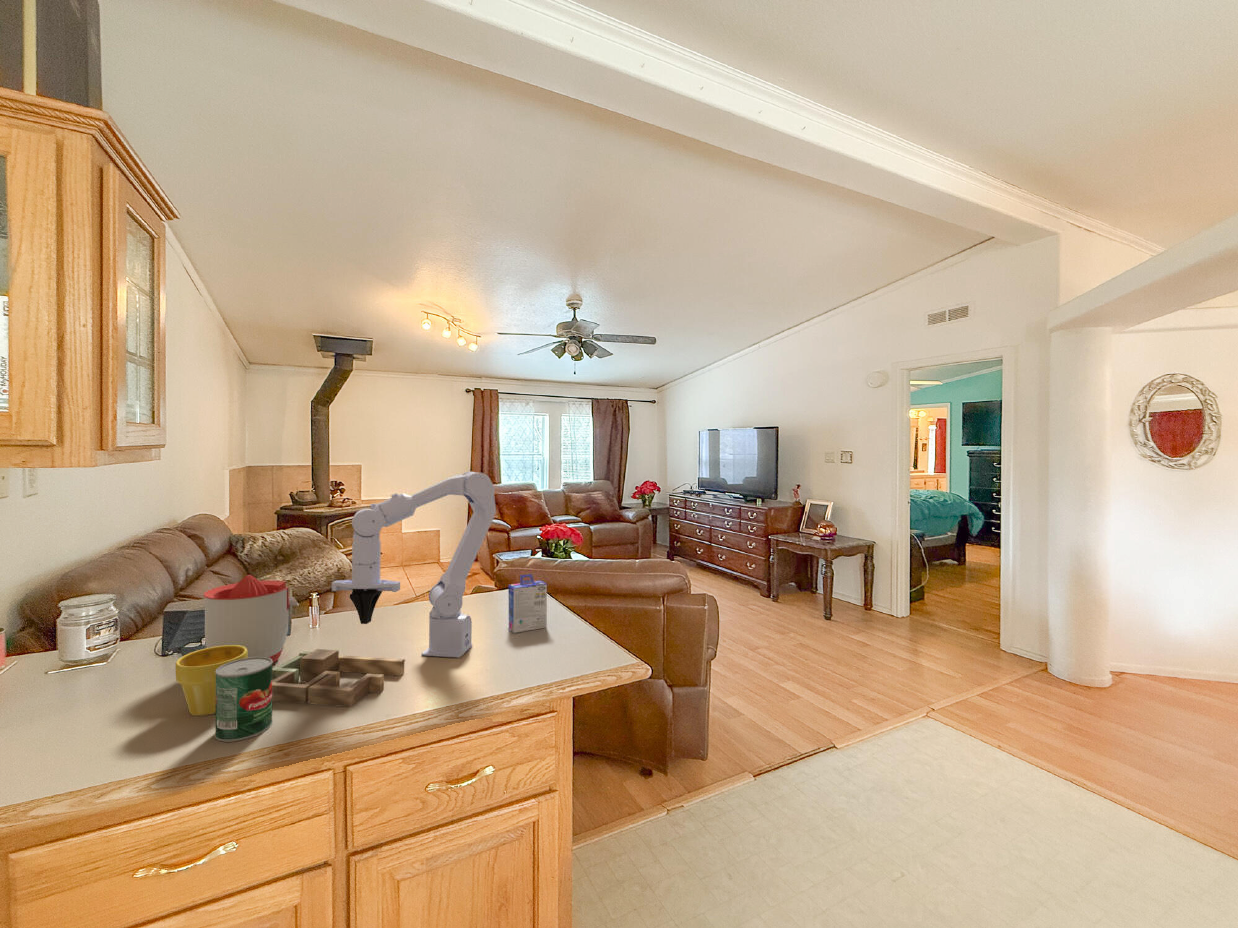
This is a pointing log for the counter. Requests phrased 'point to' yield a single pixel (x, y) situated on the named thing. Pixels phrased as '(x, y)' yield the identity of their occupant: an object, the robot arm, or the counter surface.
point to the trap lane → (332, 681)
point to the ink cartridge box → (527, 605)
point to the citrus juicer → (249, 616)
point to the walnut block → (318, 663)
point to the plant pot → (204, 675)
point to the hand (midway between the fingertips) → (365, 622)
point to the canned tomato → (243, 698)
